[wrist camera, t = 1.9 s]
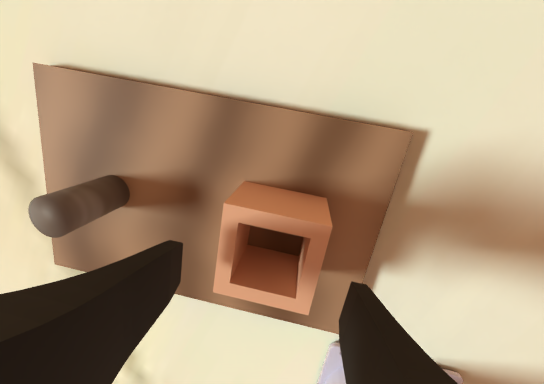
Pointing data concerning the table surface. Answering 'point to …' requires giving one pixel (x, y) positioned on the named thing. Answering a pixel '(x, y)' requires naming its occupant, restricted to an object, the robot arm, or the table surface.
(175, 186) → the plate
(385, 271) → the table surface
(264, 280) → the collar
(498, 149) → the table surface
